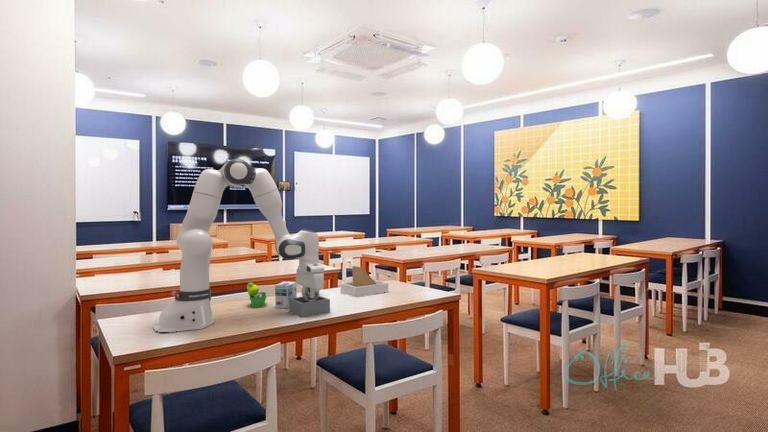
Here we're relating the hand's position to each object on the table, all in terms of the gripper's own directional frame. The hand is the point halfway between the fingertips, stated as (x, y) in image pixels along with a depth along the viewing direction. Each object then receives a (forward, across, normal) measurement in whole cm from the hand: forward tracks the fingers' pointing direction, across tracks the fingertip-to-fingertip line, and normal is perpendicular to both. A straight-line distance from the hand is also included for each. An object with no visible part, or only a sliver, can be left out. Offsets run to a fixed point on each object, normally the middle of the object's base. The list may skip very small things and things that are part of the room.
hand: (309, 296), depth 206 cm
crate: (+7, 0, 0) cm, 7 cm away
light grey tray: (+7, -21, +44) cm, 49 cm away
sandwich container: (+7, -20, +46) cm, 51 cm away
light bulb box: (+7, -18, -3) cm, 20 cm away
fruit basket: (+7, -27, -14) cm, 31 cm away
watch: (+5, 0, +1) cm, 5 cm away
